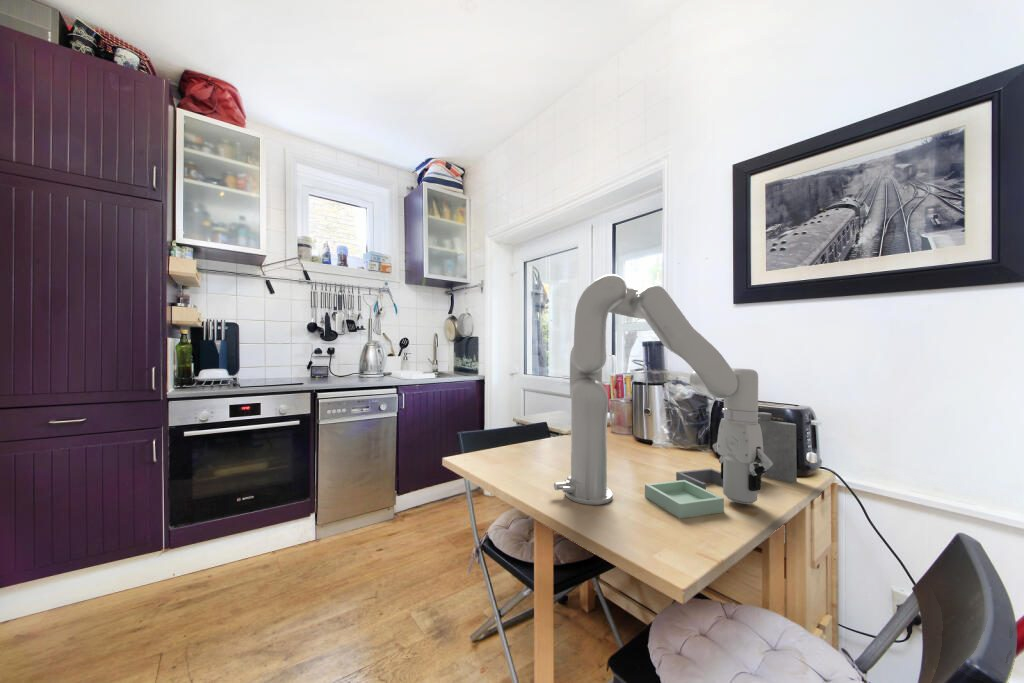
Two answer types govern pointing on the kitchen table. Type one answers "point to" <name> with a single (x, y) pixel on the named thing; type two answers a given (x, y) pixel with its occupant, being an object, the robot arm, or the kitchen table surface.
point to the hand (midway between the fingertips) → (739, 483)
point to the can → (737, 481)
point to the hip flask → (779, 448)
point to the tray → (684, 498)
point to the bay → (700, 477)
